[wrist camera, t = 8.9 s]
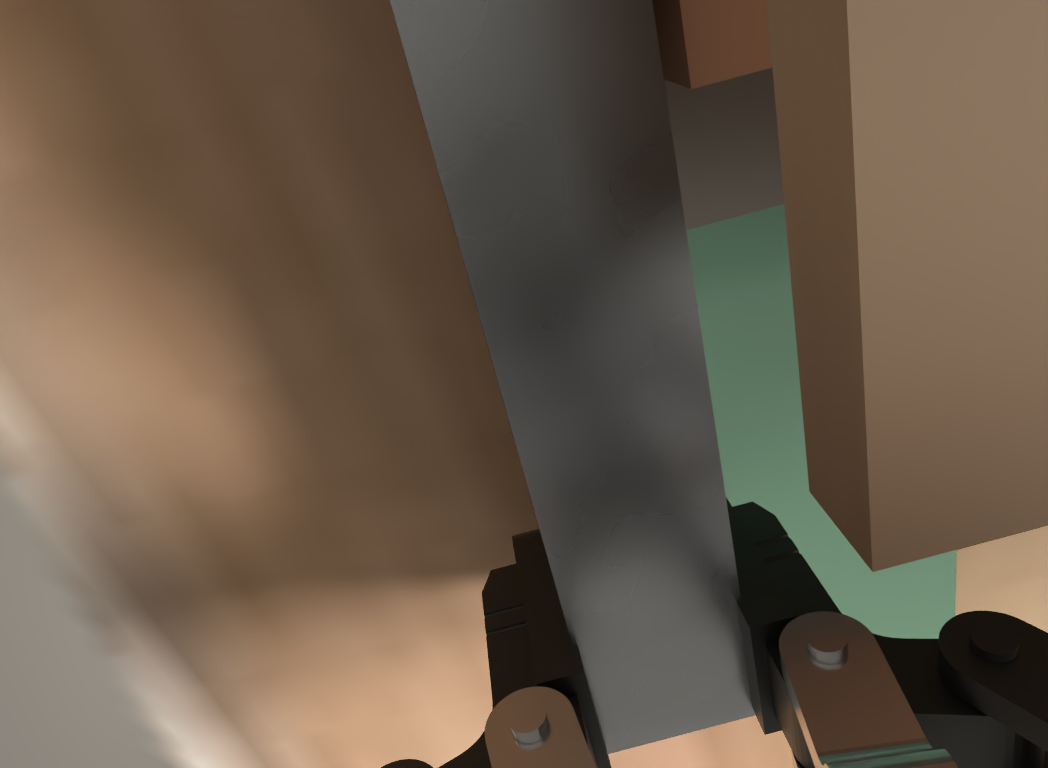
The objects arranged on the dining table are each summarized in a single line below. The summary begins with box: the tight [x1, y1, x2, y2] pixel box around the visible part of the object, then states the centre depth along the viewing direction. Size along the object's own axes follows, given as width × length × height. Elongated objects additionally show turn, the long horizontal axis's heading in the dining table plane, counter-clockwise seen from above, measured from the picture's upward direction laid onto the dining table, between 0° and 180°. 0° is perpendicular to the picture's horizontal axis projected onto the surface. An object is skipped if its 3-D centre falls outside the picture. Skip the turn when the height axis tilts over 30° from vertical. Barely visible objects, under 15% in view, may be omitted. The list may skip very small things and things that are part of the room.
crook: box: [390, 0, 756, 754], centre depth 11 cm, size 16×8×4 cm, turn 13°
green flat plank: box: [664, 68, 956, 639], centre depth 13 cm, size 25×6×1 cm, turn 13°
